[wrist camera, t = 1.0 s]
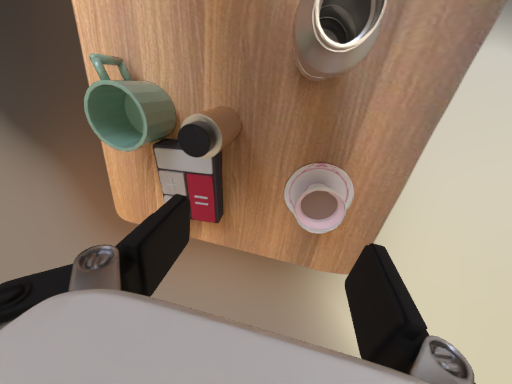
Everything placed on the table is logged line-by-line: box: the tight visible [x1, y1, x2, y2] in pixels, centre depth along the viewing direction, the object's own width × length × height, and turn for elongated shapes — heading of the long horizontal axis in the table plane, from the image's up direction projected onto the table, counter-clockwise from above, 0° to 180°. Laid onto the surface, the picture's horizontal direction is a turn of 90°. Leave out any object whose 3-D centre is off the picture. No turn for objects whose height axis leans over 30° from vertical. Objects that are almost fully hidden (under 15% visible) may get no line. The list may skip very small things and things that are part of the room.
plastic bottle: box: [292, 0, 387, 81], centre depth 20 cm, size 6×7×20 cm
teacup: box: [284, 163, 354, 234], centre depth 35 cm, size 12×12×6 cm
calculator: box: [153, 139, 223, 223], centre depth 39 cm, size 11×4×15 cm
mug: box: [84, 54, 176, 152], centre depth 32 cm, size 13×10×8 cm
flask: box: [178, 106, 241, 159], centre depth 30 cm, size 6×6×12 cm
